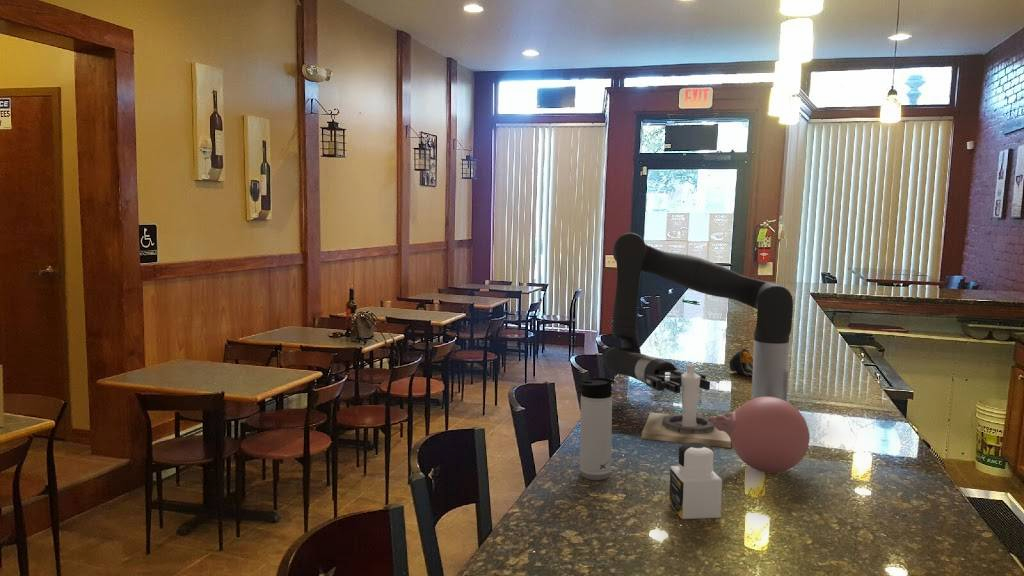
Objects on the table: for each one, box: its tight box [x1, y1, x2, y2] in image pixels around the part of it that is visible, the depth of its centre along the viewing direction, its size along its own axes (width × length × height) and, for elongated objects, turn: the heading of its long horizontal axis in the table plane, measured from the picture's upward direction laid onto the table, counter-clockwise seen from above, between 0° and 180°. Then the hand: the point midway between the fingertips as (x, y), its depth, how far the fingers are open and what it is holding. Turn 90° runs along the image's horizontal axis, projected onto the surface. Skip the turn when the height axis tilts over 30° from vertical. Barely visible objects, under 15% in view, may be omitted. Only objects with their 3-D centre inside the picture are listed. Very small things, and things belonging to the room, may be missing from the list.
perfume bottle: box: [680, 363, 701, 427], centre depth 166 cm, size 5×4×15 cm
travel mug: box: [579, 377, 615, 481], centre depth 139 cm, size 6×7×20 cm
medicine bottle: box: [668, 442, 723, 520], centre depth 123 cm, size 7×7×12 cm
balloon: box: [707, 397, 810, 474], centre depth 143 cm, size 15×20×15 cm
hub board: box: [641, 412, 732, 449], centre depth 167 cm, size 20×17×3 cm
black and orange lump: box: [729, 348, 753, 378], centre depth 223 cm, size 9×11×18 cm
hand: (694, 387), depth 164 cm, fingers open, 8 cm apart
